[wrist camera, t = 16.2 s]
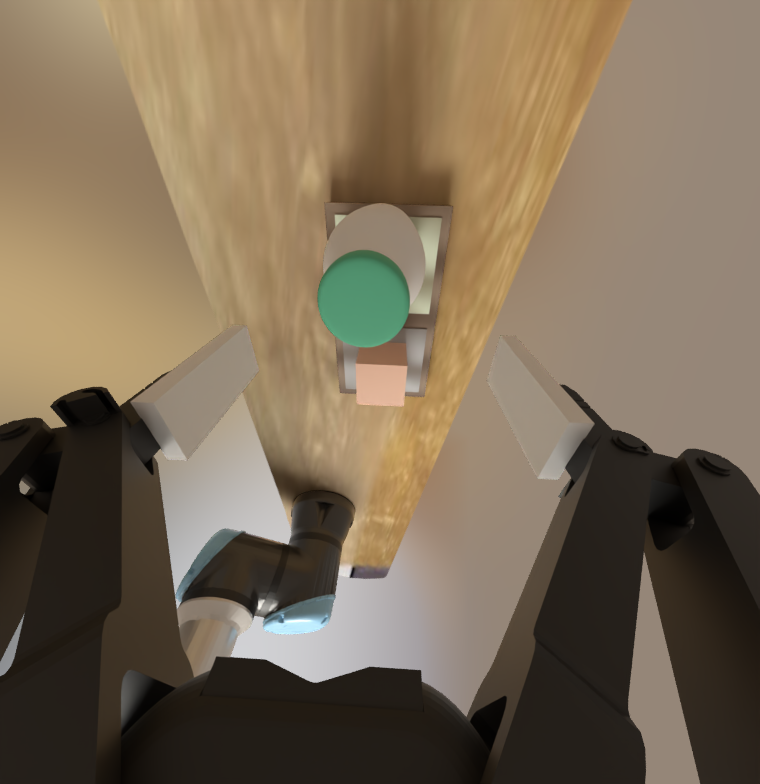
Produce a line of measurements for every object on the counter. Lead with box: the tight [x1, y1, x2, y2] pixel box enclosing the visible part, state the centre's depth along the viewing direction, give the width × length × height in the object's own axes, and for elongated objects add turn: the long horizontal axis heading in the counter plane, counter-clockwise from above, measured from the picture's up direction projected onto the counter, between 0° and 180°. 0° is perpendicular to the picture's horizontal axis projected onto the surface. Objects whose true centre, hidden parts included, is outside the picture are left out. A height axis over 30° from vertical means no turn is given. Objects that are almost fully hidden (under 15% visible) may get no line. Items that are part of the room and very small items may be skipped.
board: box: [325, 202, 453, 397], centre depth 35 cm, size 24×13×3 cm, turn 179°
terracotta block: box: [356, 342, 407, 407], centre depth 35 cm, size 6×6×6 cm
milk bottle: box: [318, 203, 426, 347], centre depth 21 cm, size 8×8×20 cm
